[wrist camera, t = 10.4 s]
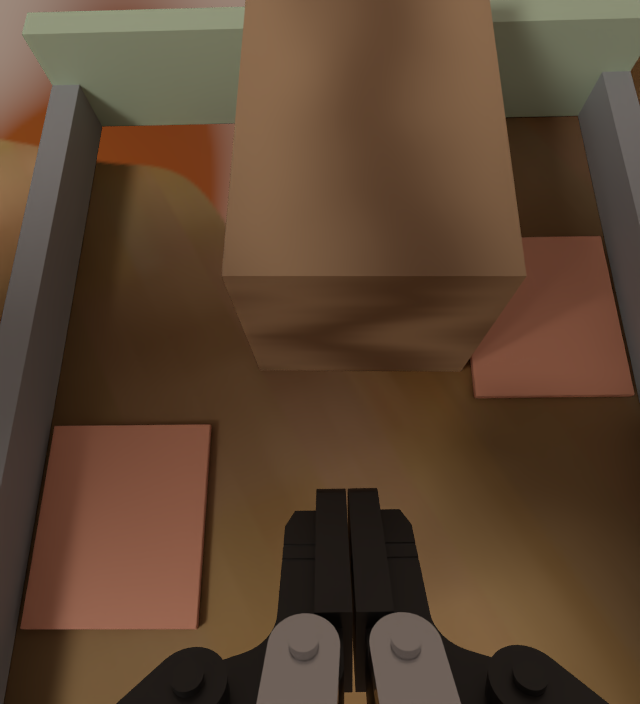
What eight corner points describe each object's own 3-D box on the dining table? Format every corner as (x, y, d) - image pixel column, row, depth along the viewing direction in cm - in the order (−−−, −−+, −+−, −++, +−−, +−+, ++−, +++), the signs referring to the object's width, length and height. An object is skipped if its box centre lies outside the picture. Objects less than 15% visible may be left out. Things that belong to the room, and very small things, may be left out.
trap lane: (-94, 1025, 15) (-286, 1236, 11) (81, 107, 27) (27, 12, 22) (822, 1039, 15) (1052, 1270, 10) (598, 95, 26) (656, -5, 21)
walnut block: (260, 371, 22) (221, 276, 14) (273, 134, 26) (248, -36, 19) (459, 372, 22) (526, 276, 14) (440, 133, 26) (484, -40, 18)
